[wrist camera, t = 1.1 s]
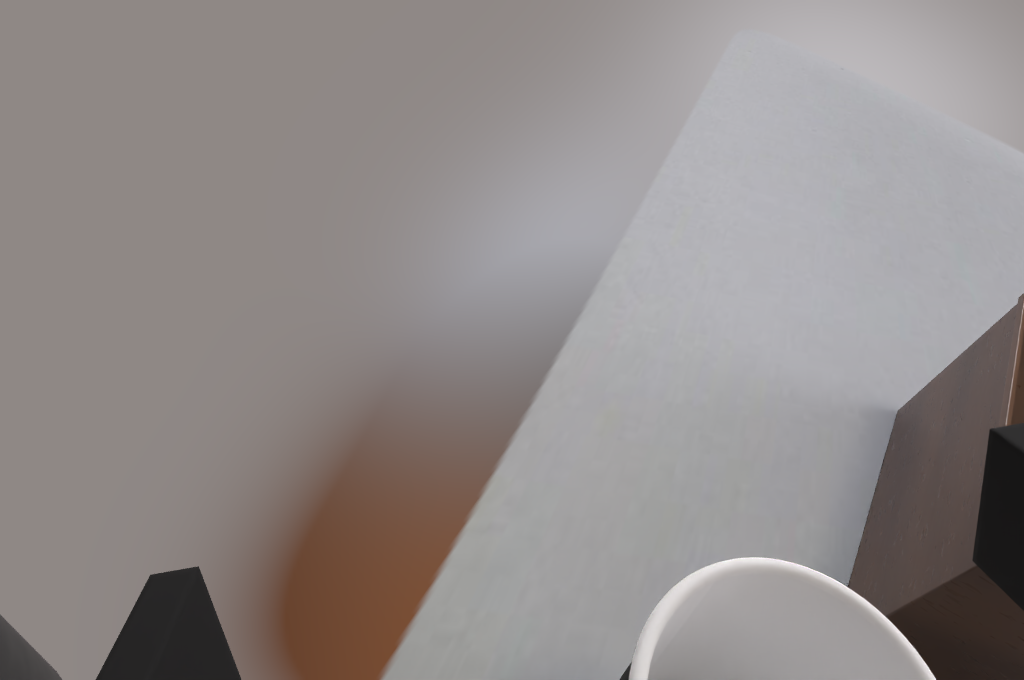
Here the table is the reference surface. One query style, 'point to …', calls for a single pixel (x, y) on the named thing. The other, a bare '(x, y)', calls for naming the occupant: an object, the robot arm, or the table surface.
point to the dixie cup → (769, 629)
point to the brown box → (947, 515)
